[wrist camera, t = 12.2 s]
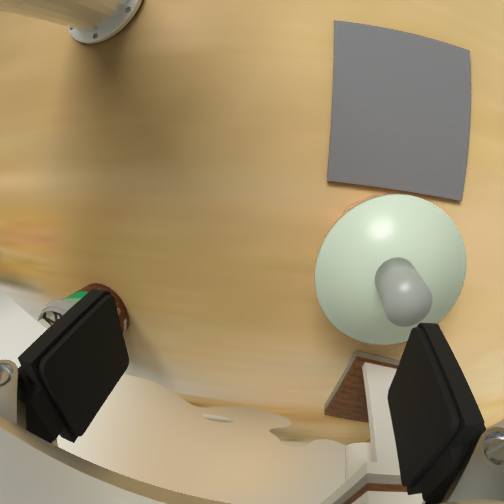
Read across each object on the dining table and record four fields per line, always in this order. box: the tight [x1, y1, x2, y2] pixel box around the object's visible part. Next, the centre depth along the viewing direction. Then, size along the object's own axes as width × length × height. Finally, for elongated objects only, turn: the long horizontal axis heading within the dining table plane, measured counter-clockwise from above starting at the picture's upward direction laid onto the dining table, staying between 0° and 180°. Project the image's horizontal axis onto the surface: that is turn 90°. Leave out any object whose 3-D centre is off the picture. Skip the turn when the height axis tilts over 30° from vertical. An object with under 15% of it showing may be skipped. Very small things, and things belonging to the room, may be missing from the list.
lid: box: [315, 193, 466, 345], centre depth 25 cm, size 15×15×6 cm
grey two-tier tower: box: [321, 351, 424, 504], centre depth 25 cm, size 11×11×35 cm
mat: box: [327, 20, 471, 201], centre depth 28 cm, size 18×16×1 cm
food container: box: [38, 284, 129, 335], centre depth 39 cm, size 12×6×10 cm, turn 55°
